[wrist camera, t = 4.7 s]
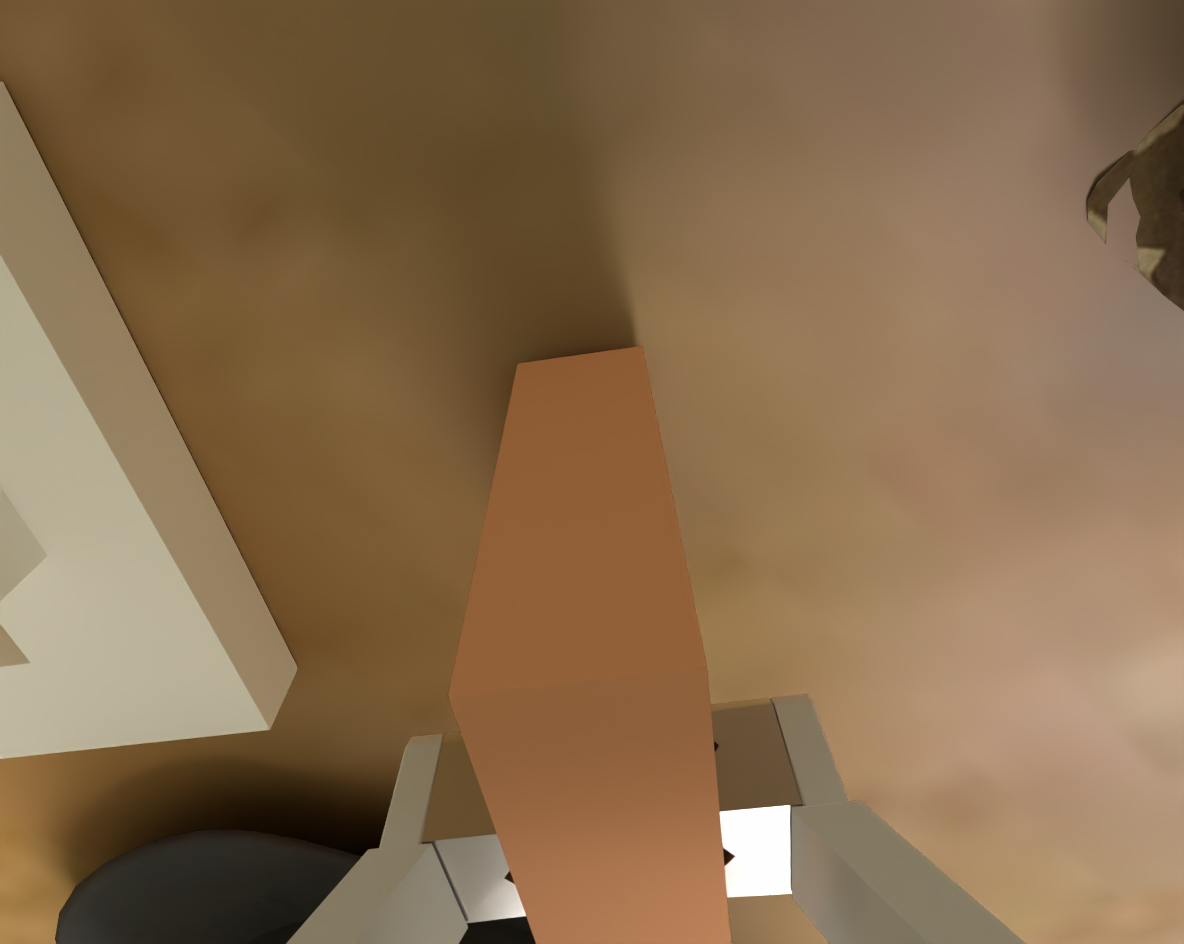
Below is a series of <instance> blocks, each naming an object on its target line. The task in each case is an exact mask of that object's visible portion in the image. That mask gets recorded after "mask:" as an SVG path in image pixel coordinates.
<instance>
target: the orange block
mask: <svg viewBox="0 0 1184 944" xmlns="http://www.w3.org/2000/svg"><path fill="white" fill-rule="evenodd" d="M448 698H449V701H450V704H451V707H452V709H453V712H454V715H455V718H456V721H457V723H458V726H459V729H460V732H461V735H462V737H463V740H464V743H465V746H466V749H467V751H468V754H469V757H470V760H471V763H472V765H473V768H474V771H475V774H476V777H477V779H478V782H479V785H480V788H481V791H482V793H483V796H484V799H485V802H486V805H487V807H488V810H489V813H490V816H491V819H492V822H493V824H494V827H495V830H496V833H497V836H498V838H499V841H500V844H501V847H502V850H503V852H504V855H505V858H506V861H507V864H508V866H509V869H510V872H511V875H512V878H513V880H514V883H515V886H516V889H517V892H518V894H519V897H520V900H521V903H522V906H523V908H524V911H525V914H526V917H527V920H528V922H529V925H530V928H531V931H532V934H533V936H534V939H535V942H536V944H731V935H730V923H729V912H728V900H727V889H726V877H725V866H724V854H723V843H722V832H721V820H720V809H719V797H718V786H717V774H716V763H715V751H714V740H713V728H712V717H711V705H710V694H709V682H708V671H707V664H706V659H705V654H704V649H703V644H702V639H701V634H700V629H699V624H698V619H697V614H696V609H695V604H694V600H693V595H692V590H691V585H690V580H689V575H688V570H687V565H686V560H685V555H684V550H683V545H682V540H681V535H680V531H679V526H678V521H677V516H676V511H675V506H674V501H673V496H672V491H671V486H670V481H669V476H668V471H667V466H666V461H665V457H664V452H663V447H662V442H661V437H660V432H659V427H658V422H657V417H656V412H655V407H654V402H653V397H652V392H651V388H650V383H649V378H648V373H647V368H646V363H645V358H644V353H643V348H642V346H638V347H631V348H624V349H617V350H610V351H603V352H596V353H589V354H581V355H574V356H567V357H560V358H553V359H546V360H539V361H532V362H525V363H518V364H517V369H516V373H515V378H514V383H513V388H512V392H511V397H510V402H509V407H508V411H507V416H506V421H505V426H504V430H503V435H502V440H501V445H500V450H499V454H498V459H497V464H496V469H495V473H494V478H493V483H492V488H491V492H490V497H489V502H488V507H487V511H486V516H485V521H484V526H483V531H482V535H481V540H480V545H479V550H478V554H477V559H476V564H475V569H474V573H473V578H472V583H471V588H470V592H469V597H468V602H467V607H466V612H465V616H464V621H463V626H462V631H461V635H460V640H459V645H458V650H457V654H456V659H455V664H454V669H453V673H452V678H451V683H450V688H449V692H448Z"/></svg>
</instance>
